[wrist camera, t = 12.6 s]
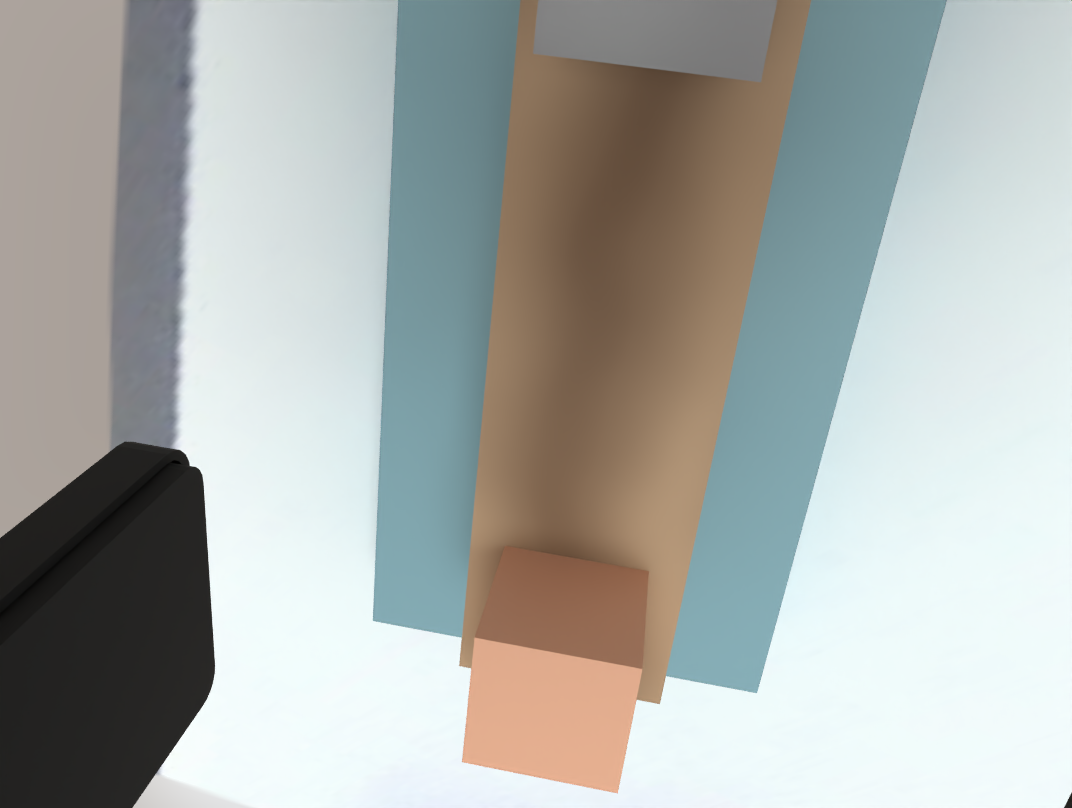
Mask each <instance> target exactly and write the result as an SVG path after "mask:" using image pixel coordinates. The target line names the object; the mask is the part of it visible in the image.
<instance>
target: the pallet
mask: <svg viewBox="0 0 1072 808" xmlns="http://www.w3.org/2000/svg"><path fill="white" fill-rule="evenodd" d="M810 4H811V0H777V4H776V9H775V14H774V19H773V24H772V29H771V34H770V39H769V44H768V49H767V54H766V59H765V64H764V69H763V74H762V79H761V82H754V81H746V80H738V79H730V78H723V77H715V76H707V75H699V74H691V73H683V72H675V71H667V70H659V69H651V68H643V67H635V66H627V65H619V64H611V63H603V62H595V61H587V60H579V59H571V58H563V57H555V56H547V55H539V54H533V49H534V38H535V28H536V18H537V8H538V0H520V10H519V21H518V32H517V43H516V54H515V65H514V76H513V87H512V98H511V108H510V119H509V130H508V141H507V152H506V163H505V174H504V185H503V196H502V207H501V217H500V228H499V239H498V250H497V261H496V272H495V283H494V294H493V305H492V315H491V326H490V337H489V348H488V359H487V370H486V381H485V392H484V403H483V414H482V424H481V435H480V446H479V457H478V468H477V479H476V490H475V501H474V512H473V523H472V533H471V544H470V555H469V566H468V577H467V588H466V599H465V610H464V621H463V631H462V642H461V653H460V664H459V666H463V667H468V668H472V658H473V648H474V638H475V635H476V632H477V629H478V626H479V623H480V620H481V617H482V614H483V611H484V608H485V605H486V602H487V599H488V595H489V592H490V589H491V586H492V583H493V580H494V577H495V574H496V571H497V568H498V565H499V562H500V559H501V556H502V553H503V550H504V547H505V546H509V547H515V548H520V549H526V550H532V551H537V552H543V553H549V554H554V555H560V556H566V557H571V558H577V559H582V560H588V561H594V562H599V563H605V564H611V565H616V566H622V567H628V568H633V569H639V570H644V571H649V577H648V593H647V608H646V624H645V639H644V655H643V669H642V674H641V679H640V684H639V689H638V694H637V699H636V700H642V701H647V702H652V703H657V704H660V700H661V696H662V691H663V686H664V682H665V677H666V673H667V668H668V663H669V659H670V654H671V649H672V645H673V640H674V635H675V631H676V626H677V621H678V617H679V612H680V608H681V603H682V598H683V594H684V589H685V584H686V580H687V575H688V570H689V566H690V561H691V556H692V552H693V547H694V542H695V538H696V533H697V529H698V524H699V519H700V515H701V510H702V505H703V501H704V496H705V491H706V487H707V482H708V477H709V473H710V468H711V464H712V459H713V454H714V450H715V445H716V440H717V436H718V431H719V426H720V422H721V417H722V412H723V408H724V403H725V398H726V394H727V389H728V385H729V380H730V375H731V371H732V366H733V361H734V357H735V352H736V347H737V343H738V338H739V333H740V329H741V324H742V319H743V315H744V310H745V306H746V301H747V296H748V292H749V287H750V282H751V278H752V273H753V268H754V264H755V259H756V254H757V250H758V245H759V241H760V236H761V231H762V227H763V222H764V217H765V213H766V208H767V203H768V199H769V194H770V189H771V185H772V180H773V175H774V171H775V166H776V162H777V157H778V152H779V148H780V143H781V138H782V134H783V129H784V124H785V120H786V115H787V110H788V106H789V101H790V97H791V92H792V87H793V83H794V78H795V73H796V69H797V64H798V59H799V55H800V50H801V45H802V41H803V36H804V31H805V27H806V22H807V18H808V13H809V8H810Z"/></svg>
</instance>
